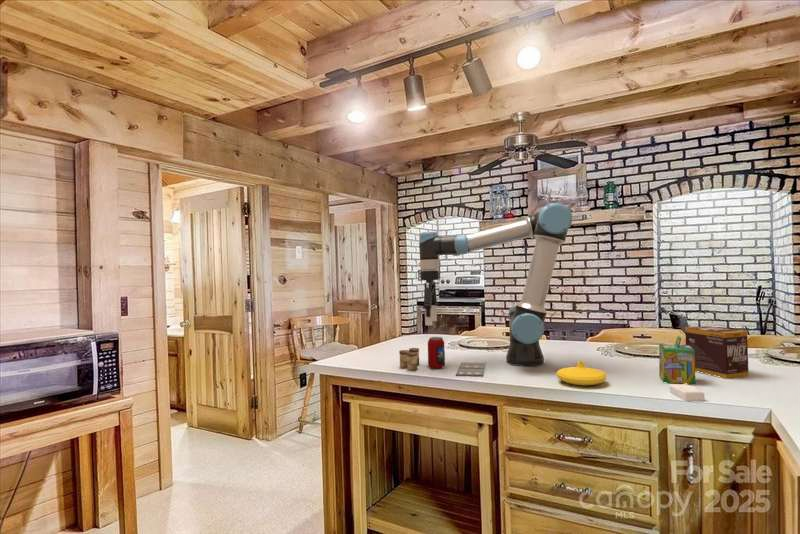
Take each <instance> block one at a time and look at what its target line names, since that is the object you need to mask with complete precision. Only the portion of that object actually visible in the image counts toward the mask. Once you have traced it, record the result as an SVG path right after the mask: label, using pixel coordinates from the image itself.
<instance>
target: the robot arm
mask: <svg viewBox="0 0 800 534" xmlns="http://www.w3.org/2000/svg"><path fill="white" fill-rule="evenodd" d="M572 223H573V214H572V211H571V210H570V208H569V207H567V206H566V205H565V204H563V203H560V202H559V203H558V202H552V203H548V204H546V205H544V206H543V207H542V208H541V210H540V211H539V212H536V213H534V214H531V215H528V216H526V217H525V218H524V219H523V220H522V219H521V220H518V221H514V222H510V223H506V224H503V225H498V226H494V227H491V228H488V229H483V230H480V231H477V232H472V233H469V234H468V233H467V234H465V235H461V234H458V235H446V236H441V235H440V236H439V234H438V232H437V231H423V232H420V234H419V236H418V237H419V238H418V239H419V241H418V242H419V243H418V247H419V251H418V252H419V262H418V265H419V267H420V268H419V269H420V270H421V271H420V272H419V275H420V281H425V282H424V284H423V285H424V294H423V295H424V296H423V306H422V310H423V309H424V323H425V326H433V322H437V321H438V312H437V311H438V310H437V306H438V305H439V302H438V300H437V299H438V298H437V290H436V281H438V280H440V271H439V269H440V263H439V262H440V261H439V256H454V257H459V256H462V255H467V254H468V253H472V252H475V251H480V250H484V249H487V248H488V249H489V248H492V247H496V246H500V245H504V244H507V243H511V242H512V243H513V242H515V241H519V240H523V239H529V238H530V239H533V240H534V239H535V244H534V245H535V246H534V249H533V254H532V257H531V261H530V264H529V270H528V272H527V277H526V281H525V284H524V288H523V292H522V296H521V301H519V302H518V303H516V304H515V306H512V307H509V309H508V318H509V319H508V320H509V321H508V323H509V325H508V326H509V346H508V349H507V353H506V356H505V359H506V361H505V362H506V363H507V364H510V365H512V366H520V367H521V366H523V367H530V366H531V367H534V366H541V365H543V364H544V363H545V356H544V354H543V351H542V348H541V346H540V339H542V337H543V335H544V332H545V325H544V324H545V321H546V316H547V310H546V309H545V303H546V300H547V296H548V292H549V288H550V284H551V280H552V277H553V272H554V268H555V265H556V261H557V257H558V253H559V249H560V246H561V245H563V244H564V243H565V242H566V239H567V235H568V233H569V232H568V231H569V229H570V228H571V226H572Z"/></svg>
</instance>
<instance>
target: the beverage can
mask: <svg viewBox="0 0 800 534" xmlns="http://www.w3.org/2000/svg"><path fill="white" fill-rule="evenodd" d="M445 349H446V348H445V341H444V339H443V337H441V336H430V337H429V338H428V341H427V359H428V360H427V363H428V367H429V368H431V369H432V370H441V369H443V368H444V367H446V351H445Z"/></svg>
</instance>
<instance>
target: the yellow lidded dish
mask: <svg viewBox="0 0 800 534" xmlns="http://www.w3.org/2000/svg"><path fill="white" fill-rule="evenodd" d="M576 363H577V364H576V366H571V367H569V366H567V367H563V368H560V369H558V371H556V376H557V378H558V379H559V380H561V381H563V382H565V383H567V384H570V385H575V386H576V385H577V386H596V385H598V384H601V383H603V382H605V381H606V380H607V377H608V375H607V374H606V373H605V372H604V371H602V370H600V369H597V368H591V367H586V366H585V361H577V362H576Z"/></svg>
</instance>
